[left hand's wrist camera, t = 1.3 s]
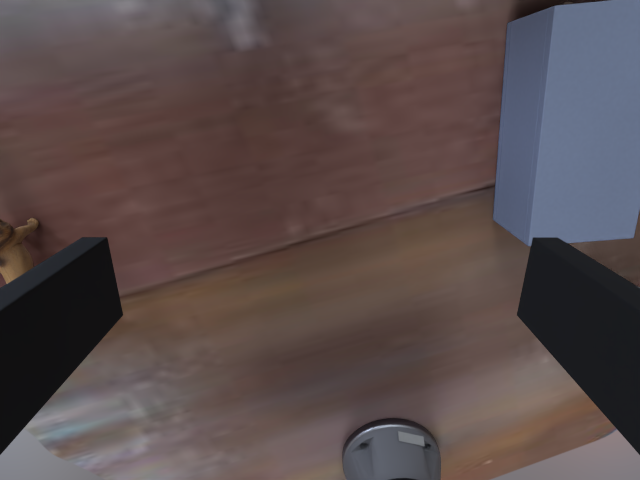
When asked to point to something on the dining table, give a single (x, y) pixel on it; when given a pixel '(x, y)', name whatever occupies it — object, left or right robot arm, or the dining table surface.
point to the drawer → (566, 3)
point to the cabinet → (571, 124)
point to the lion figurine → (15, 250)
